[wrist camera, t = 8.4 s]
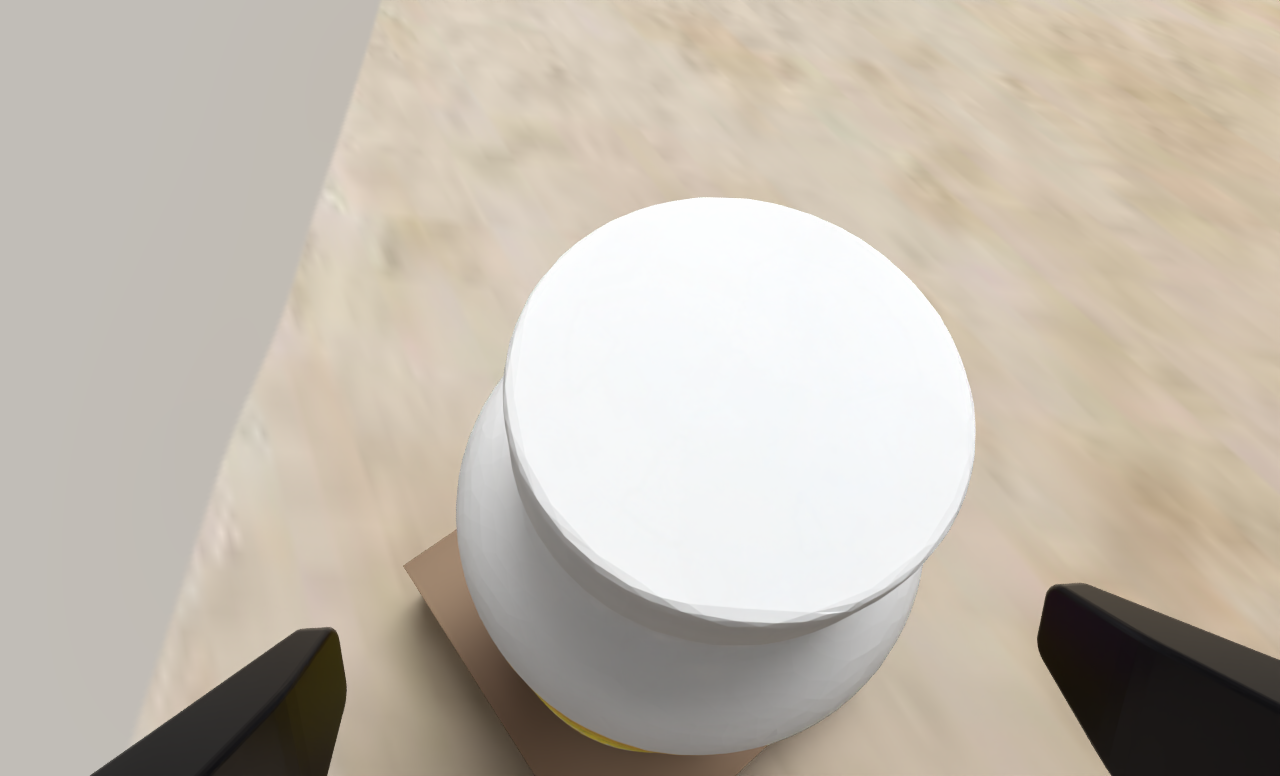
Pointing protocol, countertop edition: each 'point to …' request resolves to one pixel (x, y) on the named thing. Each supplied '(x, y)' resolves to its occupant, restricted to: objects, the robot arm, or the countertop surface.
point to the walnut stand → (555, 752)
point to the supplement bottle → (712, 475)
